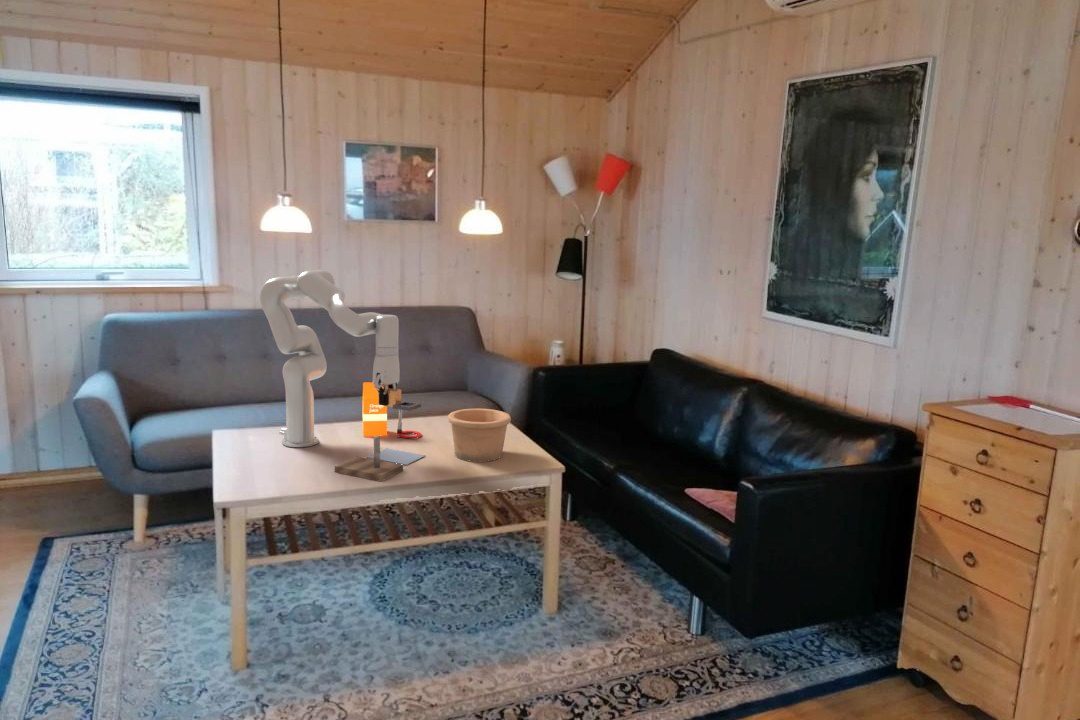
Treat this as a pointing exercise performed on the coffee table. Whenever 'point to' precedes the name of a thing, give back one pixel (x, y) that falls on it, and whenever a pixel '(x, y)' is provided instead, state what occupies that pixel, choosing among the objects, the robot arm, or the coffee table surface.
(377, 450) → the post stand
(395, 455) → the mat
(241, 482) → the coffee table surface
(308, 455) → the coffee table surface
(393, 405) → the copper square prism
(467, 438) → the pottery
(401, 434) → the tow hook
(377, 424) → the orange juice
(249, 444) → the coffee table surface
